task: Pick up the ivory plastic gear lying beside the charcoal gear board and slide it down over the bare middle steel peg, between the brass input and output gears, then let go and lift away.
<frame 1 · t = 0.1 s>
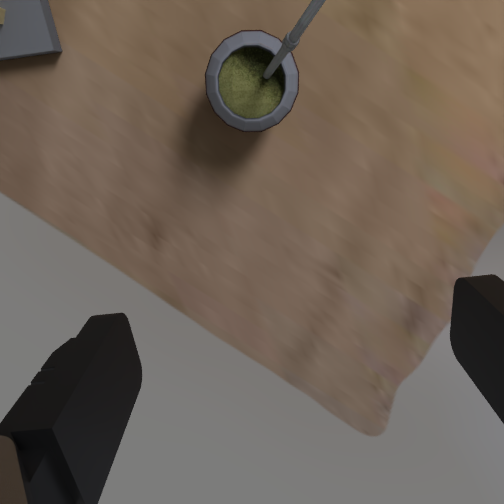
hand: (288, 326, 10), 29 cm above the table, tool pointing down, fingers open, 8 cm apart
mate gourd: (254, 77, 34), on the table
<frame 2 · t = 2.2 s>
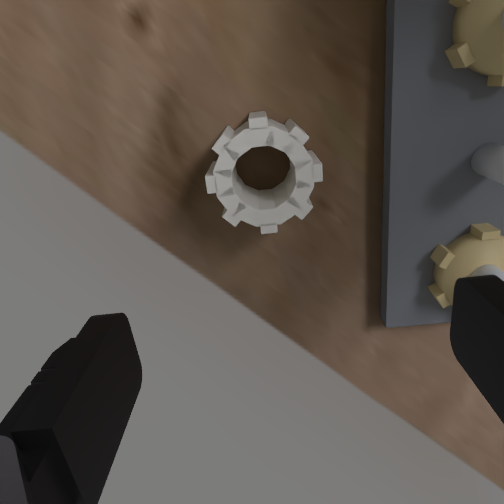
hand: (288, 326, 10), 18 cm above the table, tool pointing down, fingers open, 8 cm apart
gear board: (475, 154, 26), on the table
ivory gear: (262, 163, 26), on the table
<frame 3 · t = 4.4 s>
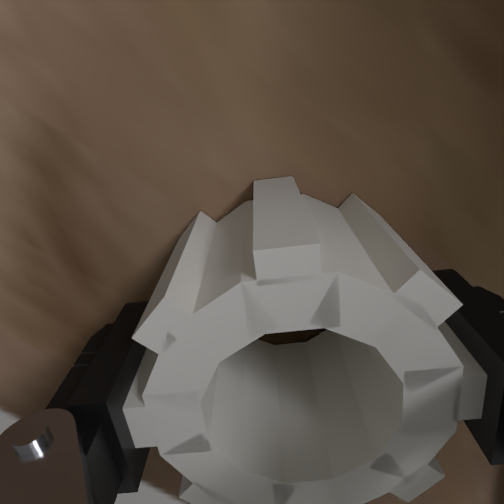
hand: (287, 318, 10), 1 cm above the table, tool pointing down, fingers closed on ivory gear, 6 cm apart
ivory gear: (284, 291, 11), on the table, touching gripper
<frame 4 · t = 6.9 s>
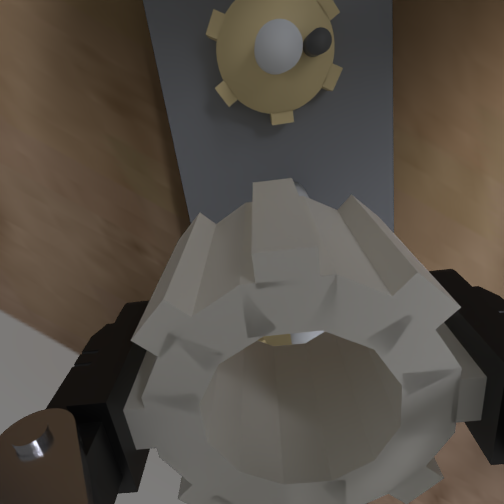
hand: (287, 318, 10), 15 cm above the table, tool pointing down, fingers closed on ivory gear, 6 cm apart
gear board: (287, 191, 24), on the table
ivory gear: (284, 293, 11), point 14 cm above the table, touching gripper
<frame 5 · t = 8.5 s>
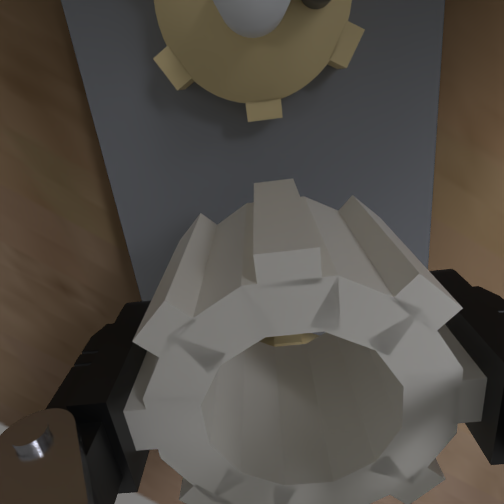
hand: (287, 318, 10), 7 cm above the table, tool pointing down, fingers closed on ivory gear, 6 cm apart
gear board: (274, 217, 17), on the table
ivory gear: (285, 293, 11), point 6 cm above the table, touching gripper
when the fingers open (5 cm above the table, at t = 9.7 s): ivory gear drops 2 cm, resting on gear board.
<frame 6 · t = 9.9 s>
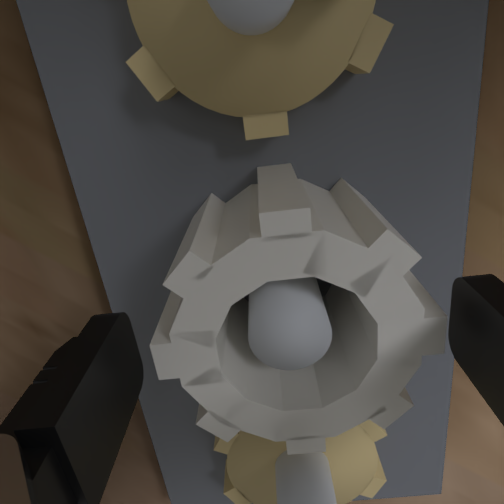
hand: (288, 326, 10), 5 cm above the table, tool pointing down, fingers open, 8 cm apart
gear board: (277, 247, 14), on the table
ivory gear: (283, 264, 13), point 1 cm above the table, touching gear board
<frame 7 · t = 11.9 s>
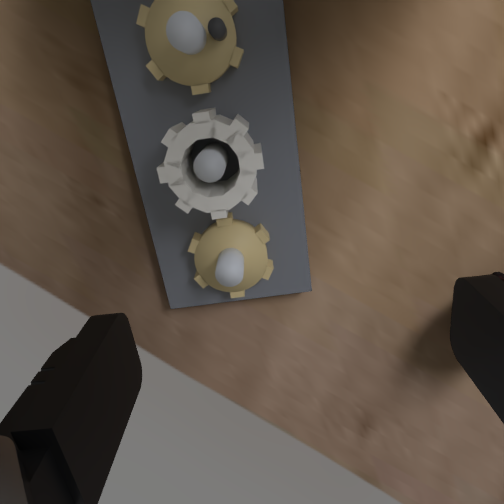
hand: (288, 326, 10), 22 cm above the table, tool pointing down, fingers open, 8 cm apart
gear board: (216, 153, 30), on the table
ivory gear: (216, 156, 29), point 1 cm above the table, touching gear board
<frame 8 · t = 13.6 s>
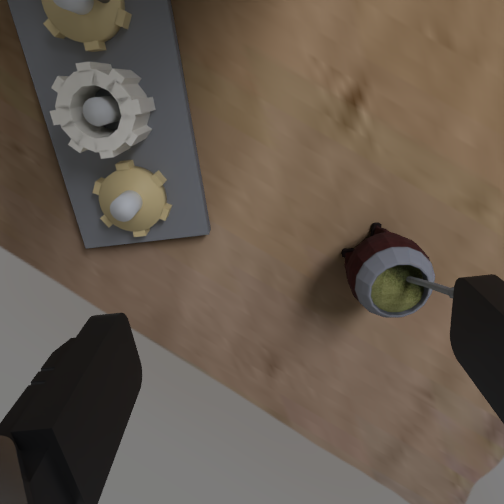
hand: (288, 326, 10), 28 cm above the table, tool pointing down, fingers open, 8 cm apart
gear board: (119, 107, 34), on the table
ivory gear: (115, 108, 33), point 1 cm above the table, touching gear board
mate gourd: (375, 247, 40), on the table
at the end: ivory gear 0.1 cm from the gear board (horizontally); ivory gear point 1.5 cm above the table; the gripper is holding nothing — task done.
